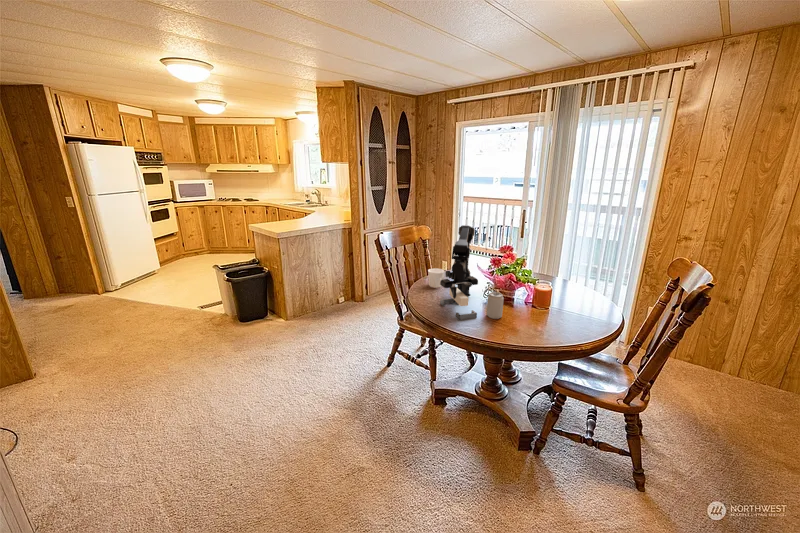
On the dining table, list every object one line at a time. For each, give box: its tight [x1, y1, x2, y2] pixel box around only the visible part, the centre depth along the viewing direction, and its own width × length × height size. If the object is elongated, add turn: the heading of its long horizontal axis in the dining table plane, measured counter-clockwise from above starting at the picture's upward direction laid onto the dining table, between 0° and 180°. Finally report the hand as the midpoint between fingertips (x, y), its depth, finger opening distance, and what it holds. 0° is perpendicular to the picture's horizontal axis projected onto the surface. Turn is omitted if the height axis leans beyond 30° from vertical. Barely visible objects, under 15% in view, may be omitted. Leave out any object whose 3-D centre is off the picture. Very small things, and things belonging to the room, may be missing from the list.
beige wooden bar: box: [448, 288, 469, 307], centre depth 170 cm, size 4×16×4 cm, turn 12°
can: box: [486, 291, 505, 320], centre depth 164 cm, size 8×8×12 cm
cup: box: [427, 267, 445, 289], centre depth 208 cm, size 10×10×10 cm
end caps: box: [439, 297, 478, 321], centre depth 172 cm, size 10×22×2 cm, turn 18°
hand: (458, 297), depth 170 cm, fingers closed on beige wooden bar, 4 cm apart
